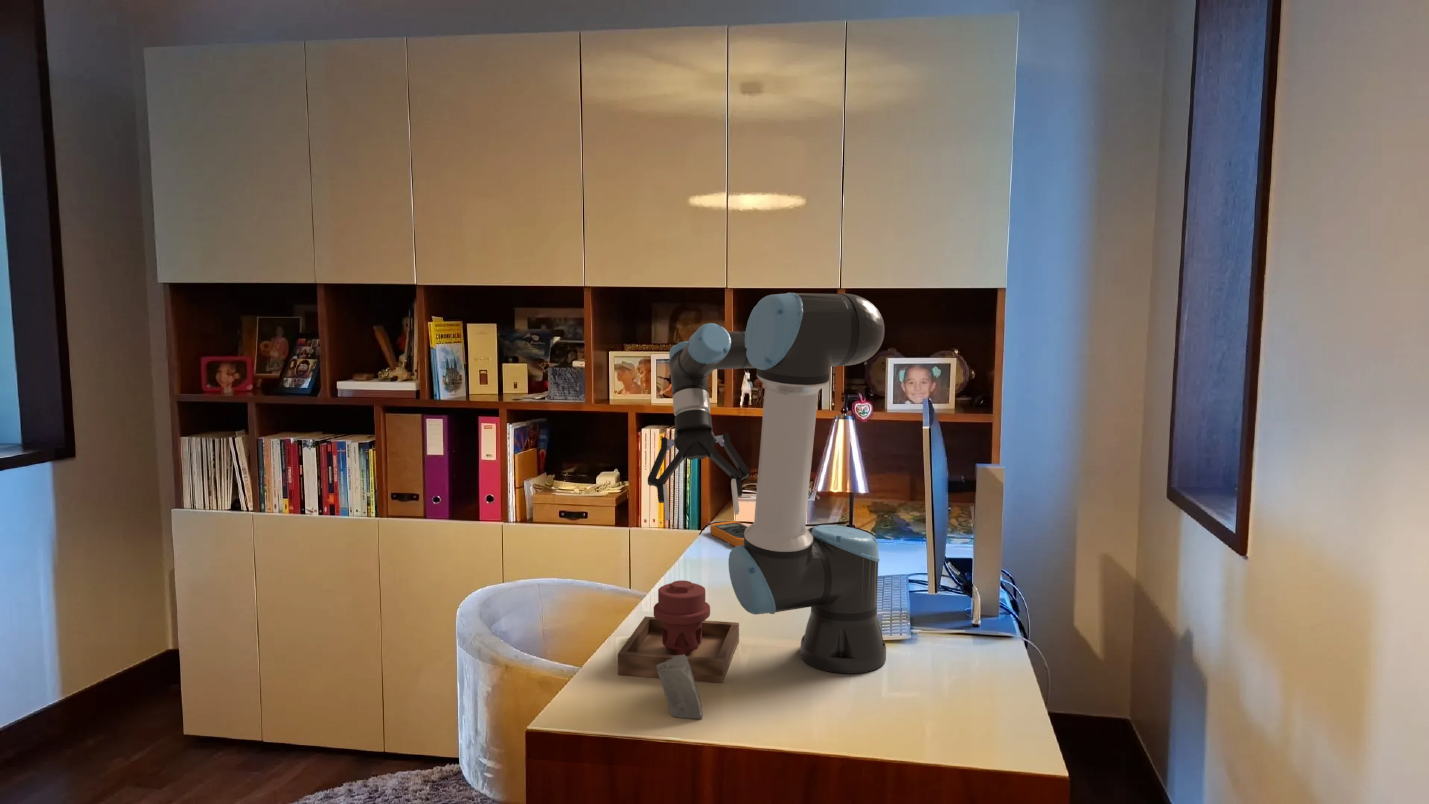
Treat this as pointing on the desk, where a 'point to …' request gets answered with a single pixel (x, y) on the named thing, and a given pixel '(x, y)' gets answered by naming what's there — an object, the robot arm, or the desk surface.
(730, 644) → the walnut tray
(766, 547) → the robot arm
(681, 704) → the mineral specimen
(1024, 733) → the desk surface
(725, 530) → the multimeter
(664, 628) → the mechanical component
